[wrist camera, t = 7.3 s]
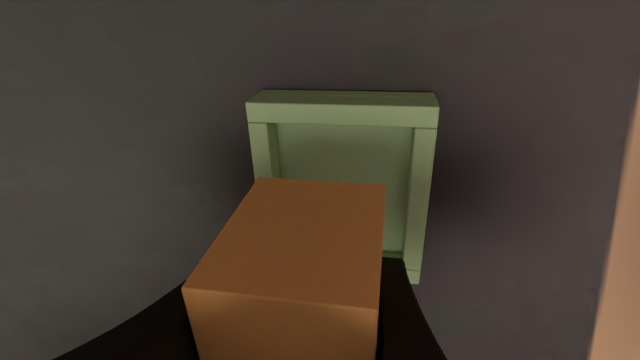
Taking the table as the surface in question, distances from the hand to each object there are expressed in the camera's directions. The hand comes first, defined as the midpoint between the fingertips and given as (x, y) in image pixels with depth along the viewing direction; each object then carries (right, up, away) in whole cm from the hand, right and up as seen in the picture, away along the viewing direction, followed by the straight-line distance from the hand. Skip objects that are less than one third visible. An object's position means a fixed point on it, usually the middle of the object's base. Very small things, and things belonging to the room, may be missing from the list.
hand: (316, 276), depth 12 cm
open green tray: (+1, +3, +6) cm, 7 cm away
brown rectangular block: (0, +1, +1) cm, 1 cm away
